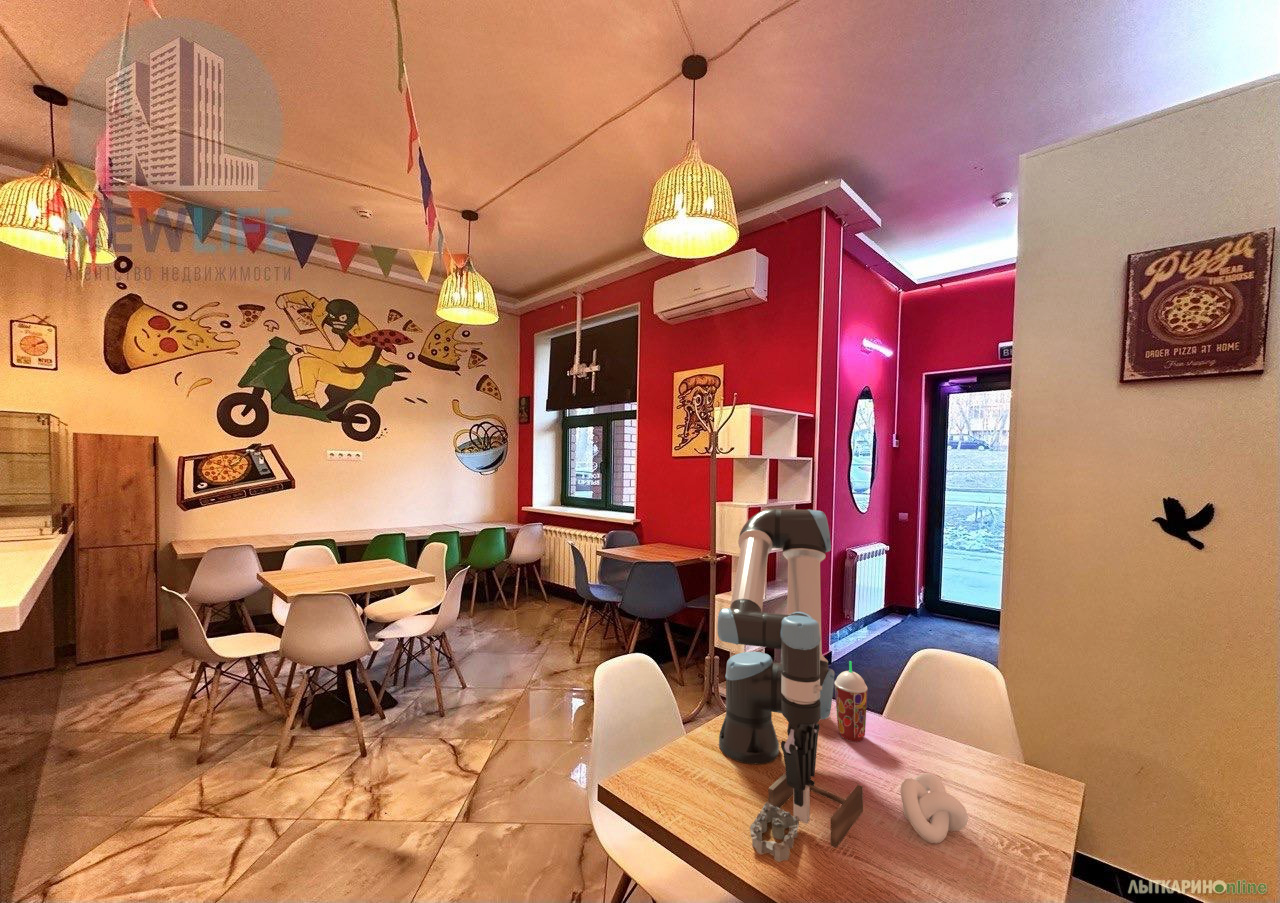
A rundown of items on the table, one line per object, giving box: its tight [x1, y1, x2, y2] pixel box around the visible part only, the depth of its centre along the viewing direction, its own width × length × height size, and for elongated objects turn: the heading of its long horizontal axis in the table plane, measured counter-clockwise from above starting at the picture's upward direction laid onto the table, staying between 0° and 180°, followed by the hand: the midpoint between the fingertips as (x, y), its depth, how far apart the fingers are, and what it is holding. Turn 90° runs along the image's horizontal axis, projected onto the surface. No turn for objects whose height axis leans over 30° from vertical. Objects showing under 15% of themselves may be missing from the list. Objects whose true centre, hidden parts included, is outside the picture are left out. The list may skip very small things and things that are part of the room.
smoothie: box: [834, 660, 868, 743], centre depth 133 cm, size 8×8×20 cm
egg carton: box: [749, 801, 800, 863], centre depth 94 cm, size 11×8×4 cm
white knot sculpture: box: [900, 772, 969, 844], centre depth 98 cm, size 11×12×9 cm
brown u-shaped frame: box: [768, 771, 864, 849], centre depth 102 cm, size 14×14×5 cm
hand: (801, 818), depth 97 cm, fingers closed
